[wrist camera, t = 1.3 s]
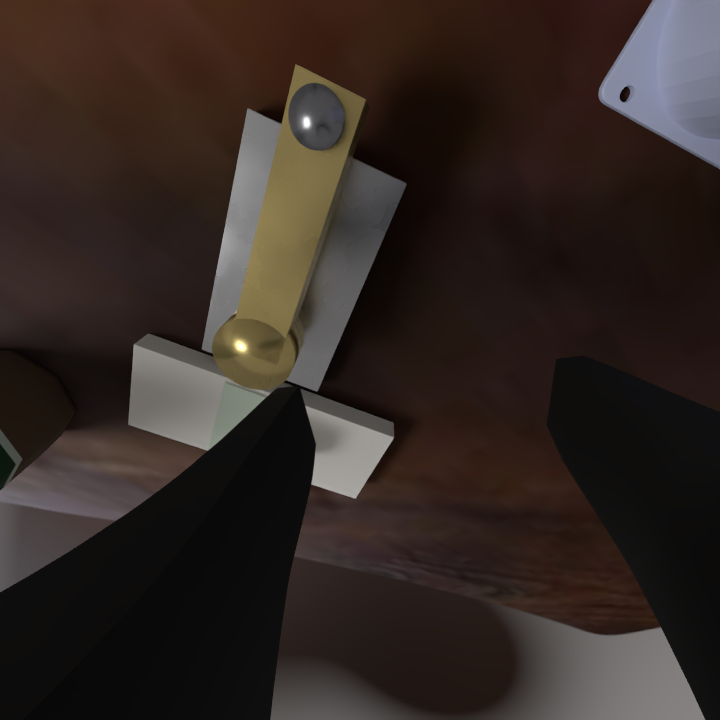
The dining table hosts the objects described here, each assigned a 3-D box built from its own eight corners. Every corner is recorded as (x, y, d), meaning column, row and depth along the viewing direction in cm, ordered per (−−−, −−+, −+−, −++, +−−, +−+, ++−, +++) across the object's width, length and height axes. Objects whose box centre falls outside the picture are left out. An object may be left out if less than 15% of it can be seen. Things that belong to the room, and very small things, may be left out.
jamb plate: (405, 182, 16) (408, 186, 14) (320, 382, 22) (314, 402, 20) (255, 111, 15) (237, 105, 13) (209, 341, 21) (192, 359, 19)
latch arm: (387, 117, 12) (387, 106, 10) (293, 372, 18) (276, 410, 16) (292, 70, 12) (263, 44, 9) (226, 348, 18) (197, 383, 15)
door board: (393, 422, 23) (394, 464, 20) (356, 482, 26) (352, 526, 23) (148, 333, 21) (106, 364, 17) (141, 411, 24) (104, 449, 21)
